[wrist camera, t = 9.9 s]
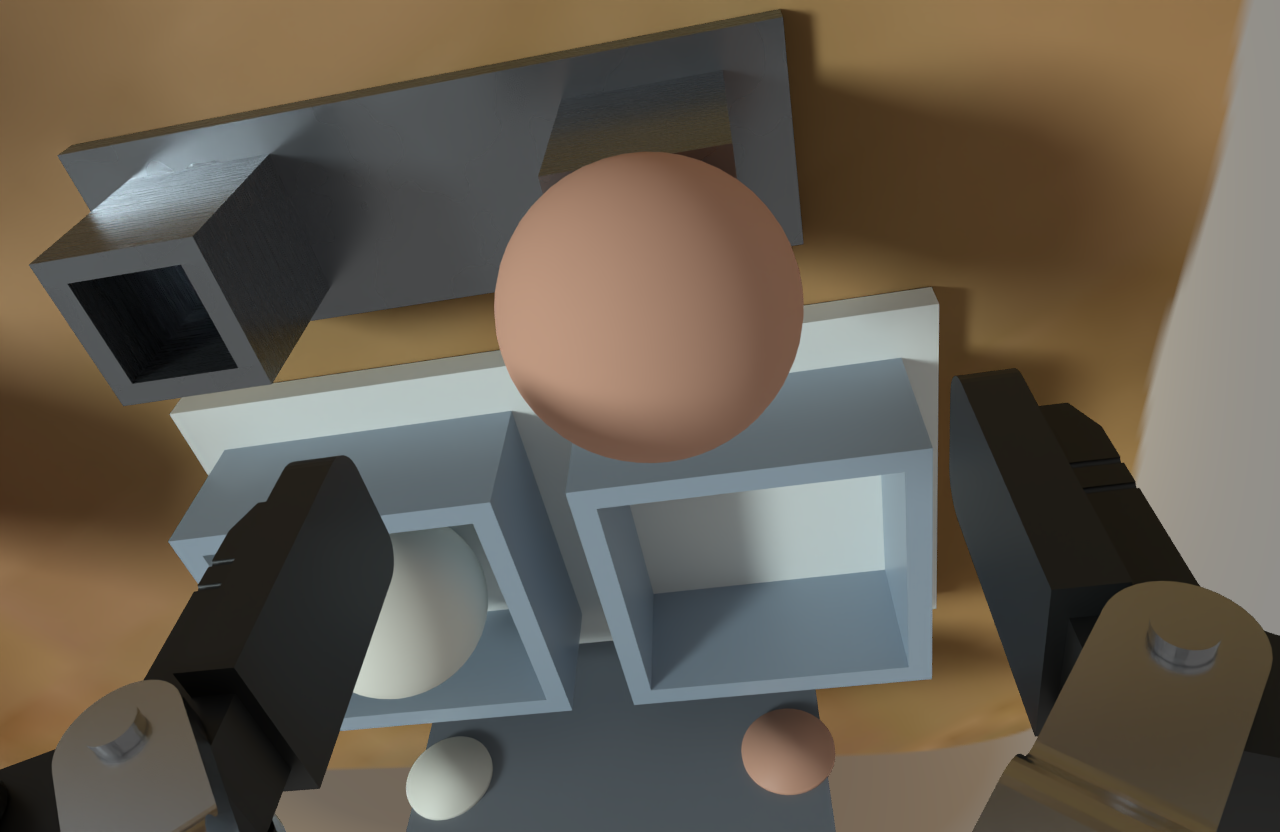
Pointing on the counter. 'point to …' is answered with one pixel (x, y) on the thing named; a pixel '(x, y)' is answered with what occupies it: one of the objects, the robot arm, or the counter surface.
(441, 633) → the cream ball
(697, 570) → the rack
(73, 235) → the post stand
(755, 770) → the card
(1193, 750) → the robot arm
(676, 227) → the terracotta ball
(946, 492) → the counter surface
